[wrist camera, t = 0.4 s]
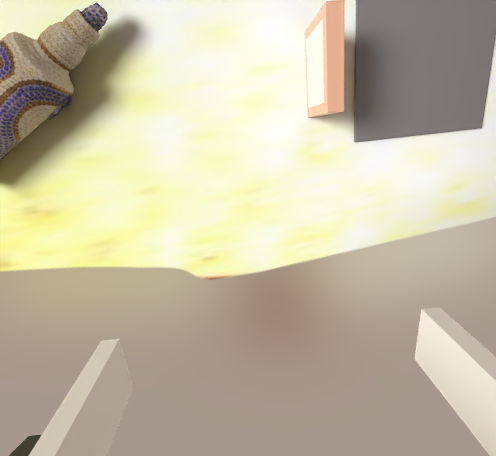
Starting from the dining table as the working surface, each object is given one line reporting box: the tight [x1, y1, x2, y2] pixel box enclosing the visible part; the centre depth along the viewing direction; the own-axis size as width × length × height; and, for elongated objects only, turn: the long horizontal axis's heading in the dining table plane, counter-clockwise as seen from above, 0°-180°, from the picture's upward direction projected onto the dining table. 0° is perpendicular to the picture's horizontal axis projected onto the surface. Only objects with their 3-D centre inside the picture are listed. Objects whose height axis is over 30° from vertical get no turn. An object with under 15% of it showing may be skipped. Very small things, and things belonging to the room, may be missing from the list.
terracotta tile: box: [305, 0, 344, 117], centre depth 30 cm, size 9×2×8 cm, turn 6°
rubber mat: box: [354, 0, 496, 142], centre depth 32 cm, size 22×16×1 cm
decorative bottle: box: [0, 3, 107, 160], centre depth 30 cm, size 26×8×7 cm, turn 125°
